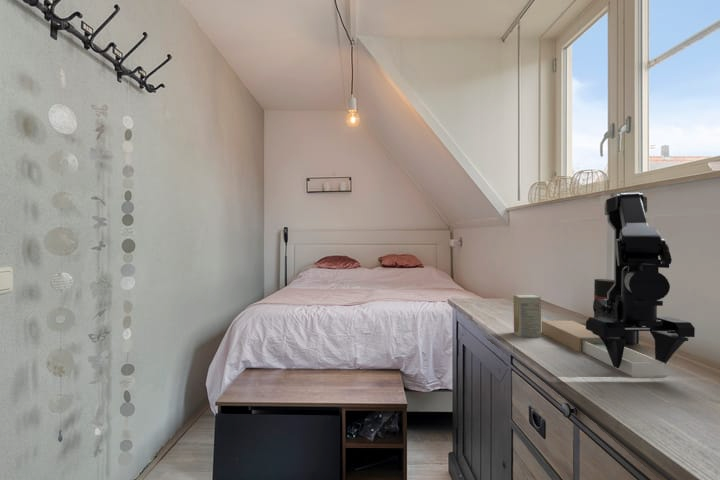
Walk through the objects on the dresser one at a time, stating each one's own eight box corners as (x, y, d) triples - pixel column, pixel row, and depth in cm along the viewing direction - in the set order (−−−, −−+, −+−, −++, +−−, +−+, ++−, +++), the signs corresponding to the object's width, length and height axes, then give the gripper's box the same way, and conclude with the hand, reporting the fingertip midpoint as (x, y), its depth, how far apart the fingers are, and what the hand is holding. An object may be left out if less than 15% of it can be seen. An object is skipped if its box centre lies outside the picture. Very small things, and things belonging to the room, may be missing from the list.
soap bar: (601, 350, 81) (601, 343, 81) (617, 358, 76) (617, 350, 76) (589, 350, 81) (589, 343, 81) (605, 358, 76) (605, 350, 76)
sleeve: (571, 335, 96) (571, 320, 96) (615, 355, 80) (615, 337, 80) (541, 335, 96) (541, 320, 96) (579, 355, 80) (579, 337, 80)
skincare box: (535, 335, 96) (535, 294, 96) (541, 340, 91) (542, 297, 91) (512, 335, 96) (512, 294, 96) (518, 339, 92) (518, 296, 92)
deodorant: (600, 327, 105) (600, 281, 105) (590, 322, 111) (590, 278, 111) (620, 328, 104) (621, 281, 104) (609, 323, 110) (610, 279, 110)
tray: (604, 350, 82) (604, 338, 82) (664, 377, 66) (664, 363, 66) (577, 350, 82) (577, 338, 82) (631, 377, 66) (631, 363, 66)
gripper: (647, 287, 77) (647, 353, 77) (569, 287, 76) (568, 353, 76) (697, 296, 65) (696, 373, 66) (606, 295, 65) (605, 373, 65)
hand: (637, 367), depth 68 cm, fingers open, 9 cm apart
